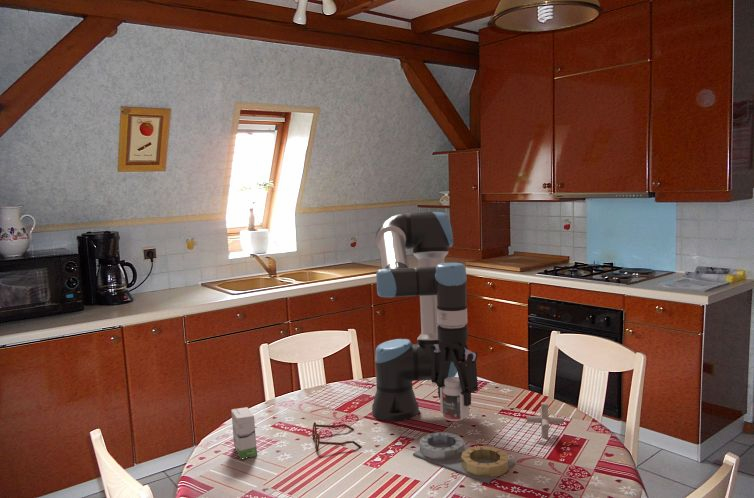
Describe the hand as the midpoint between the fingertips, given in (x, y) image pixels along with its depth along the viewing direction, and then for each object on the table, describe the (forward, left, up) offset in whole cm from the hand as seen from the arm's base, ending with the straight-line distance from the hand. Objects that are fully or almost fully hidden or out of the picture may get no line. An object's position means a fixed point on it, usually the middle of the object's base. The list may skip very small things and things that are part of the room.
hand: (454, 413), depth 150 cm
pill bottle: (0, 0, -1) cm, 1 cm away
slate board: (-2, +6, -15) cm, 16 cm away
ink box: (-52, -29, -15) cm, 62 cm away
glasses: (-37, -8, -16) cm, 41 cm away
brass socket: (+5, +6, -15) cm, 17 cm away
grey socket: (-9, +6, -15) cm, 19 cm away
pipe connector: (+8, +32, -15) cm, 36 cm away
